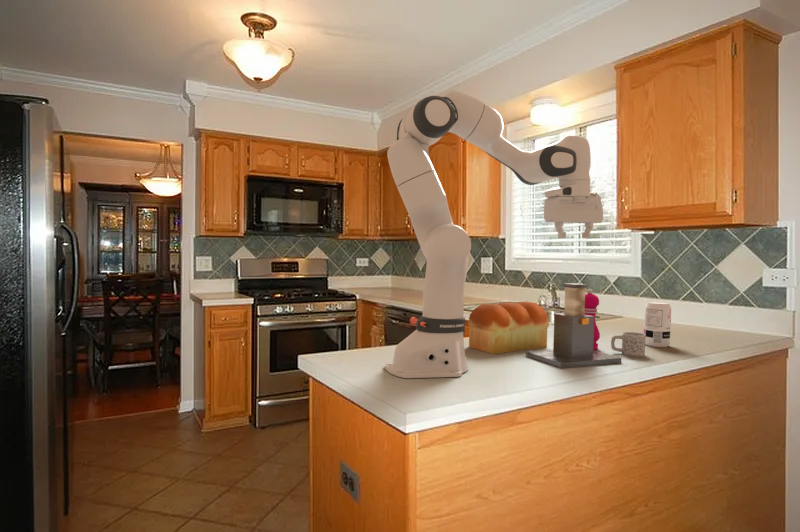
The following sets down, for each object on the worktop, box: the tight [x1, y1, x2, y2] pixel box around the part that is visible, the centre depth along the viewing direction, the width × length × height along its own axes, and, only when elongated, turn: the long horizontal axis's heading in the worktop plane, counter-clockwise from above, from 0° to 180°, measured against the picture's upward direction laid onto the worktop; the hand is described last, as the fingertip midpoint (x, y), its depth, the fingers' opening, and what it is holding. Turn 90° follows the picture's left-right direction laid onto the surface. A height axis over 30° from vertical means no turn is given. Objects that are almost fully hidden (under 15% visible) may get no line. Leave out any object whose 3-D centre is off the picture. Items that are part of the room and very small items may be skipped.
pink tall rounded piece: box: [584, 288, 601, 351], centre depth 165 cm, size 7×7×20 cm
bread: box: [467, 301, 550, 355], centre depth 165 cm, size 25×12×15 cm, turn 122°
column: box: [562, 282, 589, 316], centre depth 148 cm, size 5×5×21 cm
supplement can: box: [643, 301, 672, 348], centre depth 173 cm, size 8×8×15 cm
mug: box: [610, 331, 646, 358], centre depth 158 cm, size 10×7×7 cm
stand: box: [525, 312, 622, 369], centre depth 148 cm, size 22×16×14 cm
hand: (574, 238), depth 147 cm, fingers open, 8 cm apart
